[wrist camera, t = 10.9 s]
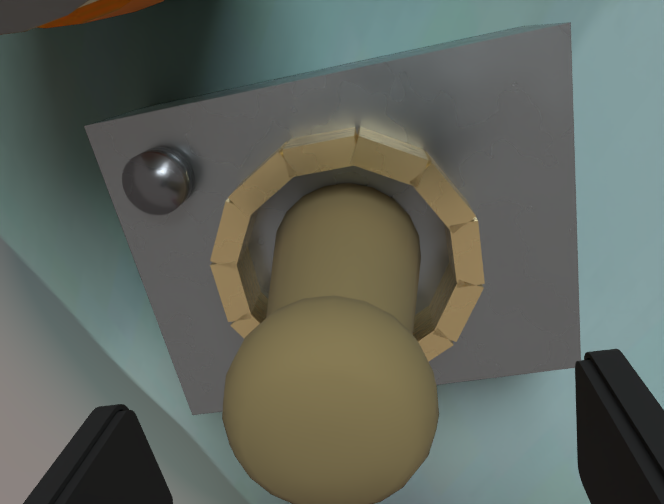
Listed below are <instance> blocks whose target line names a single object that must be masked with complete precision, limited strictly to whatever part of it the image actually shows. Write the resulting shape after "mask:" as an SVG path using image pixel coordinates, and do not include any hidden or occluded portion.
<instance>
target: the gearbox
mask: <svg viewBox="0 0 664 504" xmlns="http://www.w3.org/2000/svg"><path fill="white" fill-rule="evenodd" d="M84 127H85V130H86V133H87V135H88V138H89V141H90V143H91V146H92V149H93V151H94V154H95V157H96V159H97V162H98V165H99V167H100V170H101V173H102V175H103V178H104V181H105V183H106V186H107V189H108V191H109V194H110V197H111V199H112V202H113V205H114V207H115V210H116V213H117V215H118V218H119V221H120V223H121V226H122V229H123V231H124V234H125V237H126V239H127V242H128V245H129V247H130V250H131V253H132V255H133V258H134V261H135V263H136V266H137V269H138V271H139V274H140V277H141V279H142V282H143V284H144V287H145V290H146V292H147V295H148V298H149V300H150V303H151V306H152V308H153V311H154V314H155V316H156V319H157V322H158V324H159V327H160V330H161V332H162V335H163V338H164V340H165V343H166V346H167V348H168V351H169V354H170V356H171V359H172V362H173V364H174V367H175V370H176V372H177V375H178V378H179V380H180V383H181V386H182V388H183V391H184V394H185V396H186V399H187V402H188V404H189V407H190V410H191V412H192V415H197V414H205V413H214V412H222V411H223V398H224V388H225V379H226V374H227V372H228V370H229V368H230V365H231V363H232V361H233V359H234V357H235V356H236V354H237V352H238V350H239V348H240V346H241V344H242V342H243V341H244V339H245V337H246V336H247V335H248V334H249V333H250V332H251V331H252V330H254V329H255V328H256V327H257V326H258V325H259V324H260V323H261V322H263V321H264V320H265V319H266V314H267V306H268V297H269V289H270V280H271V272H272V263H273V255H274V247H275V240H276V232H277V229H278V227H279V226H280V224H281V222H282V220H283V218H284V216H285V214H286V212H287V211H288V210H289V209H290V208H291V207H292V206H293V205H294V204H295V203H296V202H297V201H298V200H299V199H300V198H301V197H303V196H304V195H306V194H308V193H311V192H313V191H315V190H317V189H319V188H321V187H323V186H328V185H336V184H344V183H351V184H357V185H362V186H368V187H373V188H375V189H376V190H378V191H380V192H382V193H384V194H386V195H388V196H390V197H391V198H393V199H394V200H395V201H396V202H397V203H398V204H399V205H400V206H401V207H402V208H403V209H404V210H405V211H406V212H407V213H408V214H409V215H410V217H411V219H412V222H413V224H414V226H415V228H416V230H417V232H418V235H419V240H420V252H421V262H420V272H419V282H418V291H417V301H416V310H415V320H414V329H413V336H414V337H415V338H416V340H417V341H418V343H419V344H420V346H421V348H422V350H423V352H424V354H425V356H426V358H427V360H428V362H429V364H430V366H431V368H432V370H433V372H434V377H435V382H436V385H439V384H447V383H455V382H463V381H471V380H479V379H487V378H495V377H503V376H511V375H519V374H527V373H535V372H544V371H552V370H560V369H568V368H575V364H576V361H581V351H580V318H579V285H578V251H577V218H576V184H575V151H574V118H573V84H572V51H571V22H570V23H557V24H545V25H532V26H521V27H517V28H512V29H507V30H503V31H498V32H493V33H489V34H484V35H479V36H475V37H470V38H465V39H461V40H456V41H451V42H447V43H442V44H437V45H433V46H428V47H423V48H419V49H414V50H409V51H405V52H400V53H395V54H391V55H386V56H381V57H377V58H372V59H367V60H363V61H358V62H354V63H349V64H344V65H340V66H335V67H330V68H326V69H321V70H316V71H312V72H307V73H302V74H298V75H293V76H288V77H284V78H279V79H274V80H270V81H265V82H260V83H256V84H251V85H246V86H242V87H237V88H232V89H228V90H223V91H218V92H214V93H209V94H204V95H200V96H195V97H190V98H186V99H181V100H176V101H172V102H167V103H162V104H158V105H153V106H148V107H145V108H141V109H138V110H135V111H132V112H128V113H125V114H122V115H118V116H115V117H112V118H109V119H105V120H102V121H99V122H96V123H92V124H89V125H86V126H84Z"/></svg>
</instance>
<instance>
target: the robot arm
mask: <svg viewBox="0 0 664 504" xmlns="http://www.w3.org/2000/svg"><path fill="white" fill-rule="evenodd" d="M575 381H576V417H577V454H578V469H579V474H580V478H581V481H582V484H583V486H584V489H585V491H586V493H587V496H588V498H589V500H590V502H591V504H664V410H663V409H662V407H661V406H660V404H659V403H658V402H657V400H656V399H655V398H654V396H653V395H652V393H651V392H650V391H649V389H648V388H647V387H646V385H645V384H644V382H643V381H642V380H641V378H640V377H639V376H638V374H637V373H636V371H635V370H634V369H633V367H632V366H631V365H630V363H629V362H628V360H627V359H626V358H625V356H624V355H623V354H622V352H621V351H620V350H618V349H611V350H602V351H593V352H587V353H585V356H584V360H582V361H576V364H575ZM23 504H173V499H172V496H171V493H170V491H169V488H168V486H167V484H166V482H165V479H164V477H163V475H162V473H161V470H160V468H159V466H158V464H157V462H156V459H155V457H154V455H153V452H152V450H151V448H150V446H149V443H148V441H147V439H146V436H145V434H144V432H143V430H142V427H141V425H140V423H139V421H138V419H137V416H136V414H135V413H134V412H133V411H132V410H129V409H128V408H127V407H126V406H125V405H122V404H118V405H110V406H101V407H97V408H95V409H94V410H93V411H92V413H91V414H90V415H89V416H88V418H87V419H86V420H85V422H84V423H83V425H82V426H81V427H80V429H79V430H78V431H77V432H76V434H75V435H74V436H73V438H72V439H71V440H70V442H69V443H68V444H67V446H66V447H65V449H64V450H63V451H62V452H61V454H60V455H59V456H58V458H57V459H56V460H55V462H54V463H53V464H52V466H51V467H50V468H49V470H48V471H47V473H46V474H45V475H44V476H43V478H42V479H41V480H40V482H39V483H38V485H37V486H36V487H35V488H34V490H33V491H32V492H31V494H30V495H29V496H28V498H27V499H26V500H25V502H24V503H23Z"/></svg>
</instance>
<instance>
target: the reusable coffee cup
mask: <svg viewBox="0 0 664 504" xmlns="http://www.w3.org/2000/svg"><path fill="white" fill-rule="evenodd" d="M162 1H164V0H0V35H2V34H10V33H18V32H25V31H28V30H30V29H33V28H36V27H38V28H51V27H59V26H67V25H76V24H83V23H87V22H92V21H96V20H101V19H105V18H110V17H114V16H118V15H123V14H127V13H132V12H136V11H139V10H141V9H144V8H147V7H149V6H152V5H155V4H157V3H160V2H162Z"/></svg>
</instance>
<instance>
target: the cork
mask: <svg viewBox="0 0 664 504" xmlns="http://www.w3.org/2000/svg"><path fill="white" fill-rule="evenodd" d="M420 262H421V252H420V240H419V235H418V232H417V230H416V228H415V226H414V224H413V222H412V219H411V217H410V215H409V214H408V213H407V212H406V211H405V210H404V209H403V208H402V207H401V206H400V205H399V204H398V203H397V202H396V201H395V200H394V199H393V198H391V197H390V196H388V195H386V194H384V193H382V192H380V191H378V190H376V189H375V188H373V187H368V186H362V185H357V184H351V183H344V184H336V185H328V186H323V187H321V188H319V189H317V190H315V191H313V192H311V193H308V194H306V195H304V196H303V197H301V198H300V199H299V200H298V201H297V202H296V203H295V204H294V205H293V206H292V207H291V208H290V209H289V210H288V211H287V212H286V214H285V216H284V218H283V220H282V222H281V224H280V226H279V227H278V229H277V232H276V240H275V247H274V255H273V263H272V272H271V280H270V289H269V297H268V306H267V314H266V319H265V320H264V321H263V322H261V323H260V324H259V325H258V326H257V327H256V328H255V329H254V330H252V331H251V332H250V333H249V334H248V335H247V336H246V337H245V339H244V341H243V342H242V344H241V346H240V348H239V350H238V352H237V354H236V356H235V357H234V359H233V361H232V363H231V365H230V368H229V370H228V372H227V374H226V379H225V388H224V398H223V413H222V419H223V423H224V426H225V430H226V433H227V437H228V440H229V444H230V446H231V448H232V450H233V453H234V455H235V457H236V458H237V460H238V461H239V463H240V464H241V465H242V467H243V468H244V470H245V471H246V472H247V474H248V475H249V477H250V478H251V479H252V480H254V481H255V482H256V483H258V484H259V485H260V486H261V487H263V488H264V489H265V490H266V491H268V492H269V493H270V494H272V495H274V496H276V497H278V498H281V499H283V500H285V501H288V502H290V503H292V504H374V503H378V502H381V501H382V500H384V499H386V498H387V497H389V496H390V495H392V494H393V493H395V492H397V491H398V490H400V489H401V488H403V487H404V485H405V484H406V483H407V482H408V480H409V479H410V478H411V477H412V475H413V474H414V473H415V472H416V471H417V469H418V468H419V467H420V465H421V464H422V463H423V462H424V460H425V459H426V458H427V457H428V454H429V451H430V448H431V445H432V442H433V439H434V435H435V432H436V428H437V423H438V417H439V409H438V398H437V386H436V382H435V377H434V372H433V370H432V368H431V366H430V364H429V362H428V360H427V358H426V356H425V354H424V352H423V350H422V348H421V346H420V344H419V343H418V341H417V340H416V338H415V337H414V336H413V329H414V320H415V310H416V301H417V291H418V282H419V272H420Z"/></svg>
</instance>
